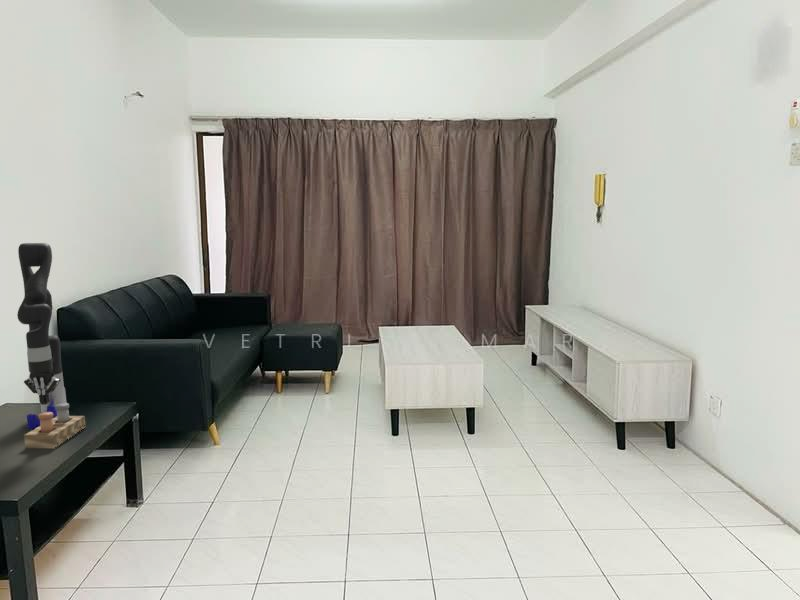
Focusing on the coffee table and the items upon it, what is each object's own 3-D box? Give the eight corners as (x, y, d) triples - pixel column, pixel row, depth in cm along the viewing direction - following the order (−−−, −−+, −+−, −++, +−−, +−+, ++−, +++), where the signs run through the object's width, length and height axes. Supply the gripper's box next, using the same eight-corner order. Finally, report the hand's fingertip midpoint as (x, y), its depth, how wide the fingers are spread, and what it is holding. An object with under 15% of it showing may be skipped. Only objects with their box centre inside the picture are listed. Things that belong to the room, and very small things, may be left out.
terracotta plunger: (45, 431, 225) (43, 411, 223) (57, 431, 224) (55, 412, 223) (37, 436, 220) (35, 416, 219) (50, 436, 220) (47, 416, 218)
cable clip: (48, 418, 248) (46, 405, 247) (57, 419, 247) (56, 405, 246) (25, 429, 237) (23, 415, 236) (34, 430, 236) (33, 415, 235)
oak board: (58, 427, 238) (57, 415, 237) (85, 428, 237) (84, 416, 236) (25, 448, 218) (24, 435, 217) (54, 448, 217) (53, 435, 217)
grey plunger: (61, 421, 234) (59, 403, 233) (73, 421, 234) (71, 403, 233) (54, 426, 230) (52, 407, 228) (66, 426, 229) (64, 407, 228)
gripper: (63, 355, 221) (68, 400, 224) (29, 355, 222) (34, 400, 224) (51, 361, 213) (55, 407, 216) (15, 361, 214) (20, 407, 217)
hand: (44, 403), depth 220 cm, fingers closed
